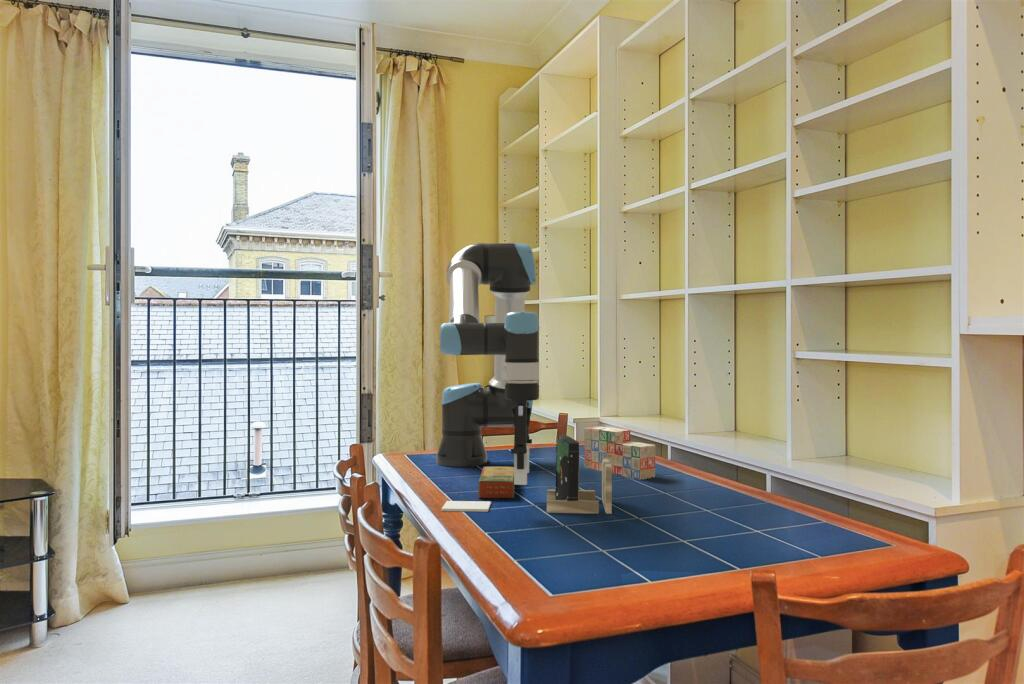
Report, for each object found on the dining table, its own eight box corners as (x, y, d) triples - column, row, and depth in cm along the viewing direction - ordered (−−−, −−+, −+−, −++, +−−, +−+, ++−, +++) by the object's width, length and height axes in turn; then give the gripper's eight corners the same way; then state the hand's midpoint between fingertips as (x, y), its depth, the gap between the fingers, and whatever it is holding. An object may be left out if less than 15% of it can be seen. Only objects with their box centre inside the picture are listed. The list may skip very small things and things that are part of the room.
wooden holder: (547, 500, 155) (547, 456, 155) (607, 501, 155) (607, 457, 155) (546, 513, 144) (546, 465, 144) (611, 513, 143) (611, 466, 143)
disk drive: (580, 510, 145) (580, 441, 145) (567, 511, 144) (567, 441, 144) (566, 499, 155) (567, 434, 155) (555, 500, 154) (555, 435, 154)
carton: (515, 482, 172) (515, 465, 172) (514, 498, 156) (514, 480, 156) (482, 482, 172) (482, 465, 172) (478, 498, 156) (478, 480, 156)
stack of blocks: (656, 479, 180) (656, 433, 180) (639, 482, 176) (639, 435, 176) (599, 467, 197) (599, 425, 197) (583, 470, 193) (583, 427, 193)
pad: (446, 503, 153) (446, 500, 153) (490, 504, 152) (490, 501, 152) (441, 511, 146) (441, 508, 146) (488, 512, 145) (488, 509, 145)
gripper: (508, 379, 163) (508, 468, 162) (500, 384, 138) (500, 489, 138) (539, 379, 162) (540, 468, 162) (537, 384, 137) (537, 490, 137)
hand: (522, 478), depth 150 cm, fingers open, 13 cm apart
